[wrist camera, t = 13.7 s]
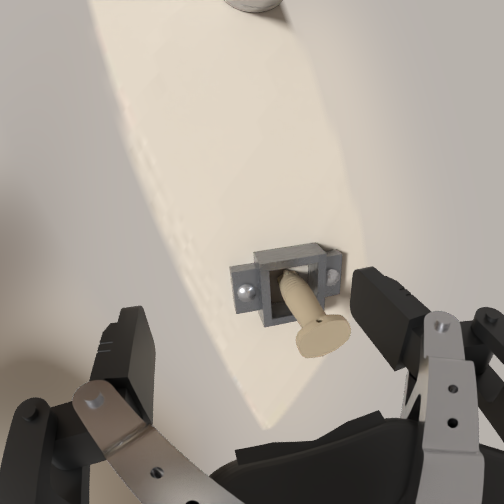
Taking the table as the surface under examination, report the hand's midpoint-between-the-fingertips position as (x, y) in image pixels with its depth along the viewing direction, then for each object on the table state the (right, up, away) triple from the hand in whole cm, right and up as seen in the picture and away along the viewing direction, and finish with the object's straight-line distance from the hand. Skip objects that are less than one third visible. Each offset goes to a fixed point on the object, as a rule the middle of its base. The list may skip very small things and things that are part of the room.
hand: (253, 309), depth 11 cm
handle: (+5, -2, +36) cm, 36 cm away
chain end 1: (+3, -2, +35) cm, 35 cm away
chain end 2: (+8, -2, +36) cm, 37 cm away
